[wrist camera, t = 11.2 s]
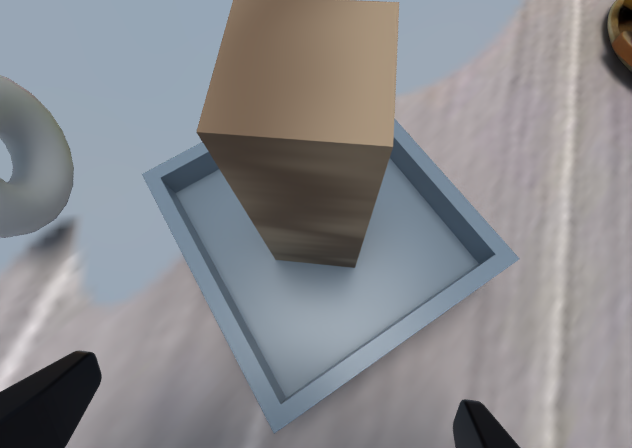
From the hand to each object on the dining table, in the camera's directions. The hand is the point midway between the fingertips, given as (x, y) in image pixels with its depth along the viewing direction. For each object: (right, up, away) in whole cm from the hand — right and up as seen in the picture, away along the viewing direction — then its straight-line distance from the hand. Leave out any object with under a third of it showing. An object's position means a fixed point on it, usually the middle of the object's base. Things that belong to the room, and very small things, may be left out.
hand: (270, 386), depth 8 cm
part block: (+1, +4, +11) cm, 12 cm away
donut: (-18, +6, +17) cm, 25 cm away
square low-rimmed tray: (+1, +3, +15) cm, 15 cm away
